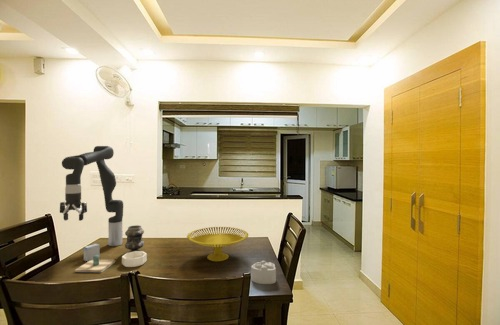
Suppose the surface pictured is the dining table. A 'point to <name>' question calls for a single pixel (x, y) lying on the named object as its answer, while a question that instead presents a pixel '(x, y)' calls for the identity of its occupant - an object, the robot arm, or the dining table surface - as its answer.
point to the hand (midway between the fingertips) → (73, 220)
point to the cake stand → (217, 240)
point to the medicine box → (91, 252)
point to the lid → (95, 265)
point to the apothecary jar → (134, 238)
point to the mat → (101, 271)
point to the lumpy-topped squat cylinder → (263, 273)
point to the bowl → (134, 259)
